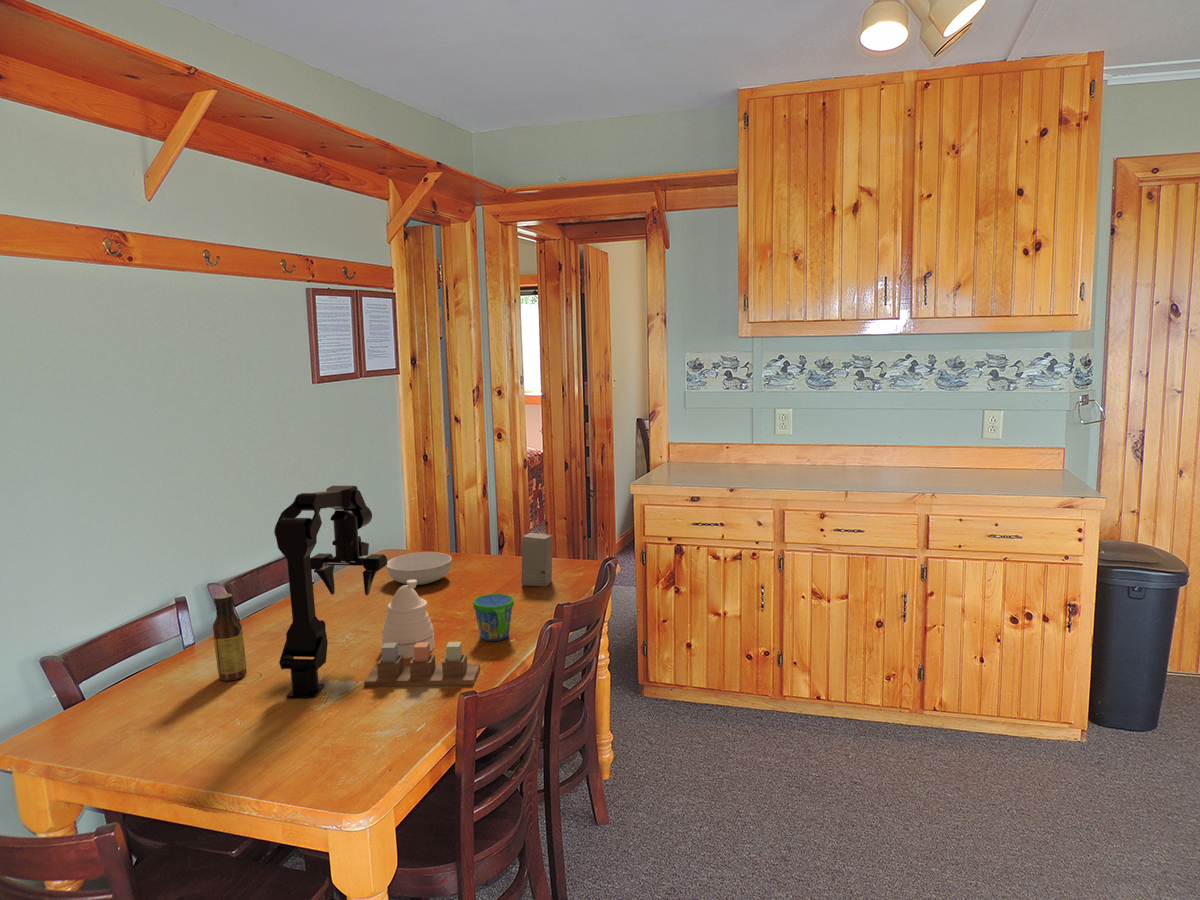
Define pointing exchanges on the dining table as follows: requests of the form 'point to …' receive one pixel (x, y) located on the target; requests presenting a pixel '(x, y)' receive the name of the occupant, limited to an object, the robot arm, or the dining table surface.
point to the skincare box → (536, 559)
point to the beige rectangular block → (454, 651)
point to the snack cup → (493, 616)
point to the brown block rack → (423, 673)
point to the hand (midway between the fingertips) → (350, 594)
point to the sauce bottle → (228, 640)
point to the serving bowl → (419, 567)
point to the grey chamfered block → (389, 652)
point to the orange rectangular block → (422, 652)
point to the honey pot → (407, 621)
